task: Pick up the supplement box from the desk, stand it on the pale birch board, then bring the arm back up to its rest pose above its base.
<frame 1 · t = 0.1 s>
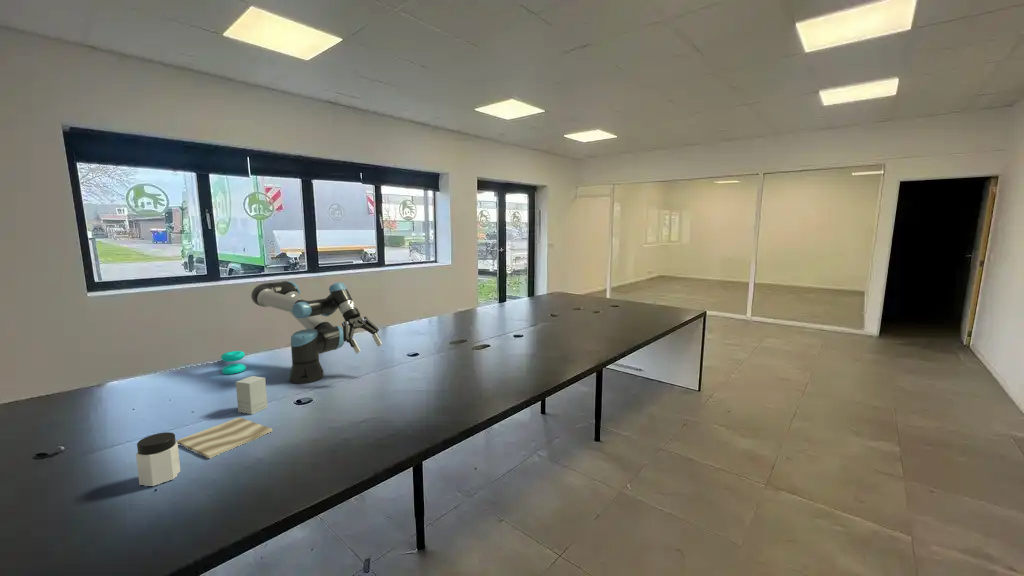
hand: (369, 348, 195), 15 cm above the table, tool tilted 35°, fingers open, 13 cm apart
supplement box: (253, 410, 162), on the table
jar: (160, 479, 116), on the table
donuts: (234, 372, 207), on the table
birch board: (225, 437, 139), on the table
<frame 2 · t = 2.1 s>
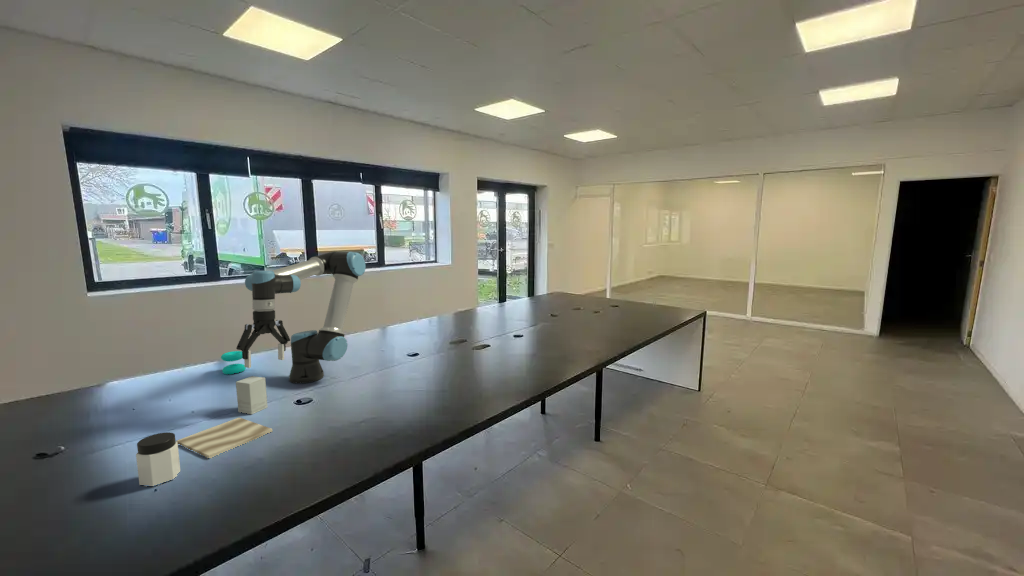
hand: (265, 363, 160), 19 cm above the table, tool pointing down, fingers open, 13 cm apart
nothing on the table moved.
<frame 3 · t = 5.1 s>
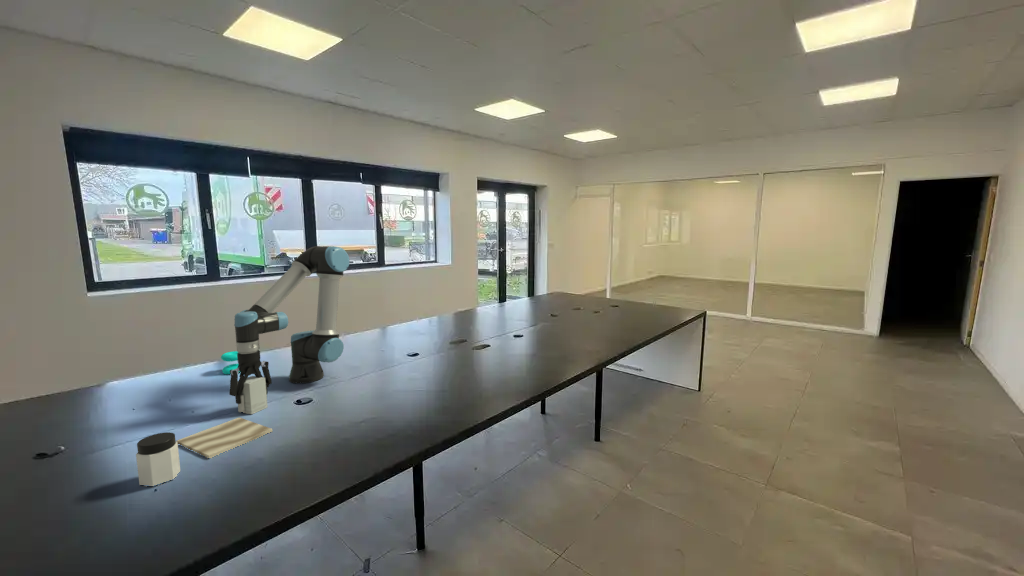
hand: (252, 406, 162), 1 cm above the table, tool pointing down, fingers closed on supplement box, 8 cm apart
supplement box: (253, 410, 162), on the table, touching gripper
everything else where it was.
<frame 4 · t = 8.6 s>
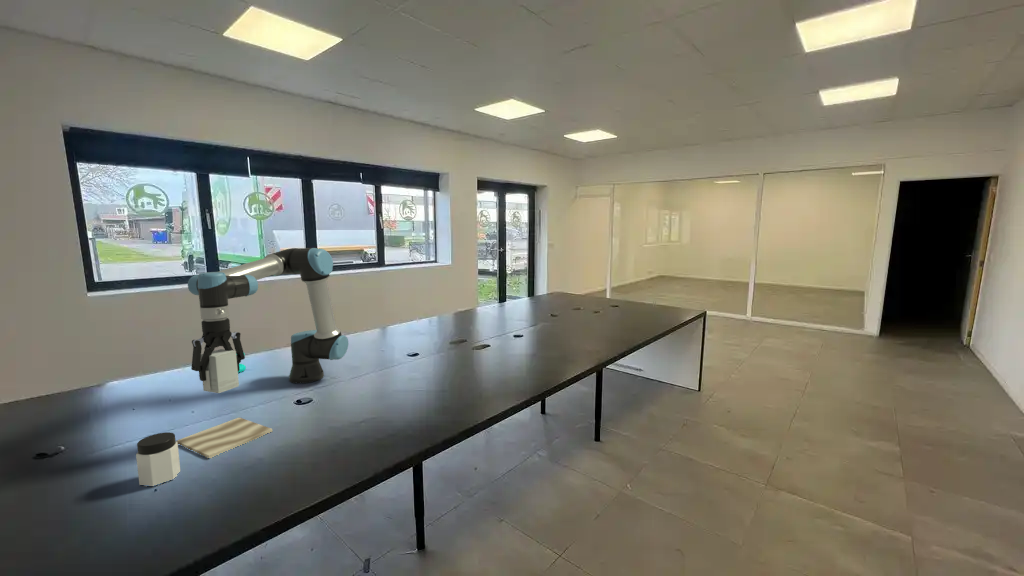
hand: (221, 385, 137), 19 cm above the table, tool pointing down, fingers closed on supplement box, 8 cm apart
supplement box: (221, 389, 137), point 17 cm above the table, touching gripper
everything else where it was.
when the fingers open (4 cm above the table, at t = 12.1 s): supplement box drops 1 cm, resting on birch board.
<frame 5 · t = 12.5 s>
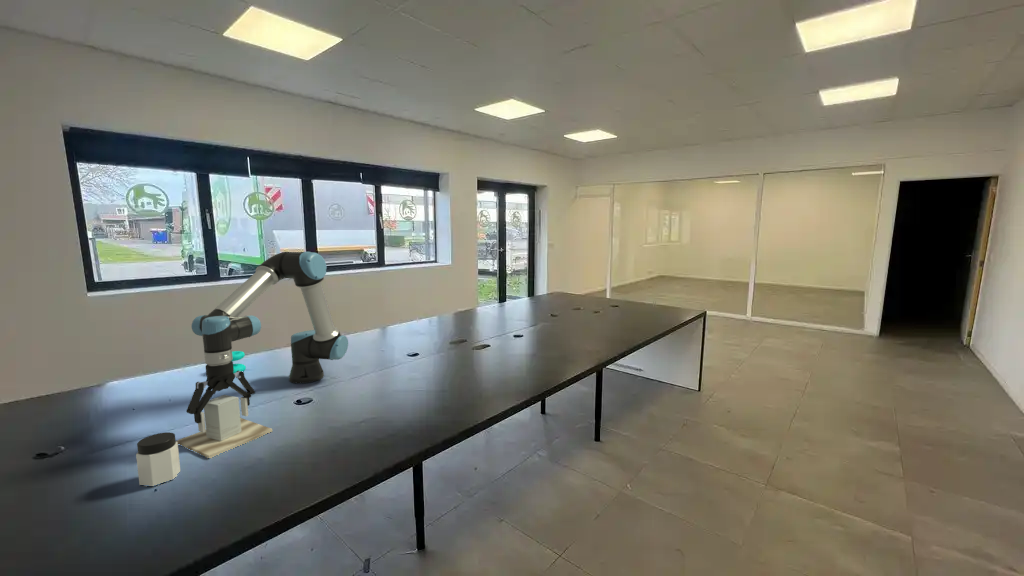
hand: (224, 423, 139), 5 cm above the table, tool pointing down, fingers open, 13 cm apart
supplement box: (224, 435, 139), point 1 cm above the table, touching birch board
everything else where it was.
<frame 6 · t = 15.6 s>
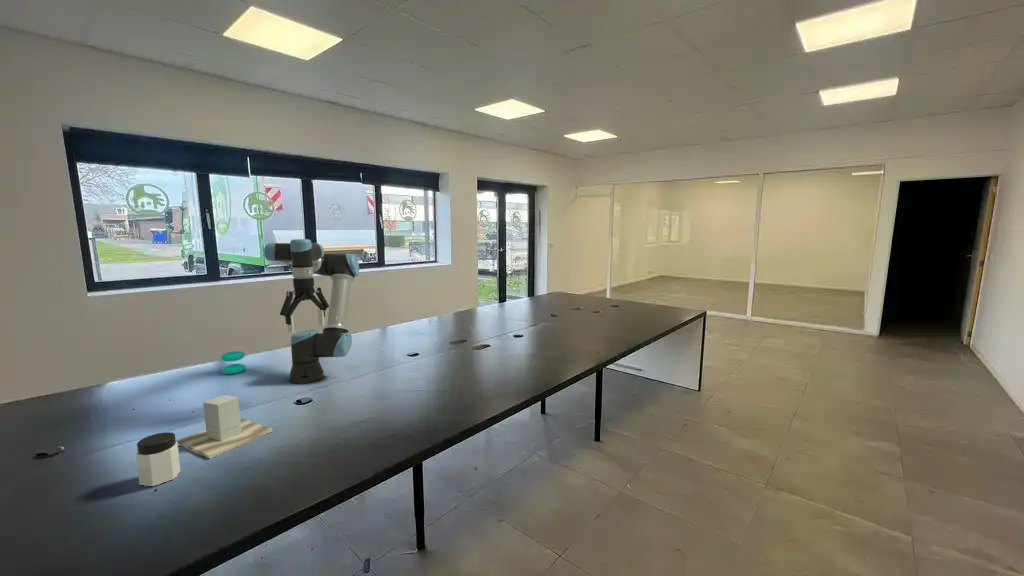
hand: (307, 328, 168), 31 cm above the table, tool pointing down, fingers open, 13 cm apart
nothing on the table moved.
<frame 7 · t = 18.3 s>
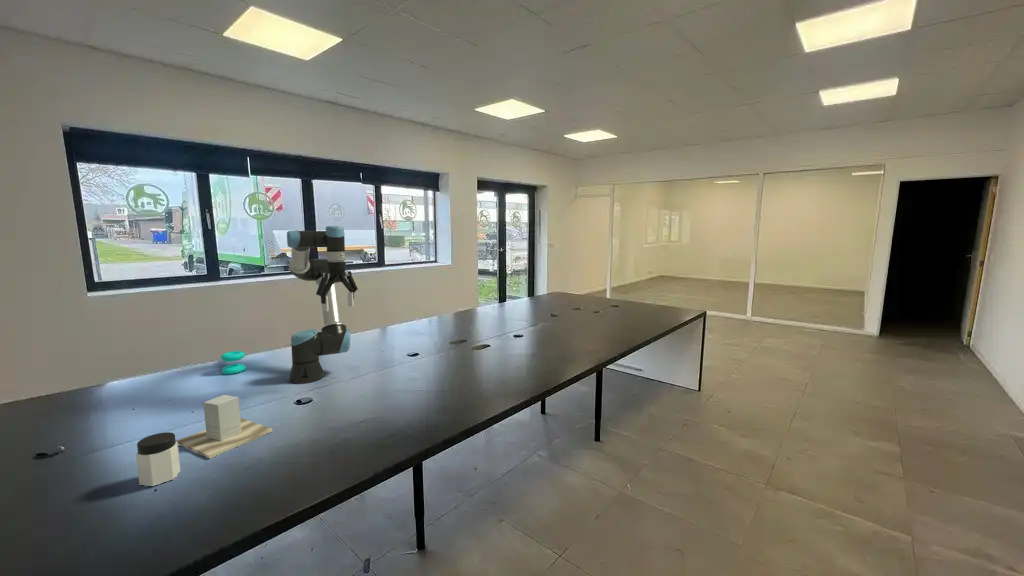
hand: (338, 308, 182), 37 cm above the table, tool pointing down, fingers open, 13 cm apart
nothing on the table moved.
at the end: supplement box inside the target area on the birch board (0.4 cm from its centre), point 1.0 cm above the birch board's base; supplement box tilted 0°; the gripper is holding nothing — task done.
